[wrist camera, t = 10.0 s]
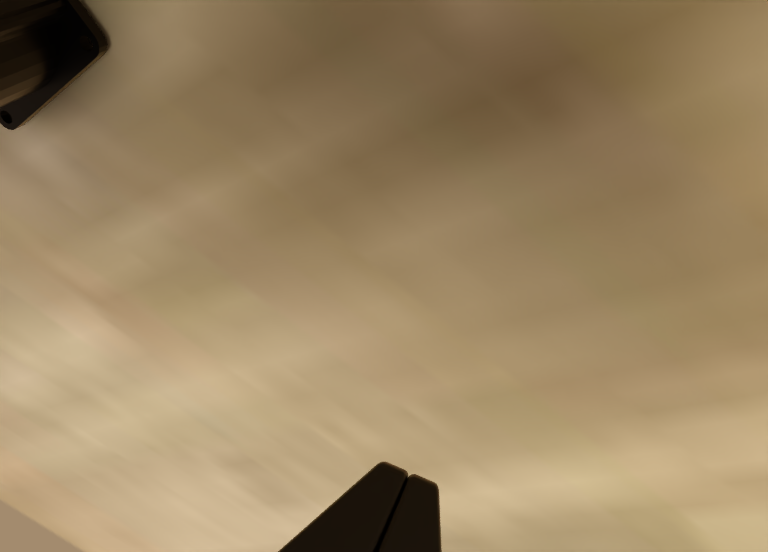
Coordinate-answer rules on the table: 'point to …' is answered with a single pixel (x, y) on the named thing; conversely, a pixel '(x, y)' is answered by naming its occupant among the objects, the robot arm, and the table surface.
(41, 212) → the table surface
